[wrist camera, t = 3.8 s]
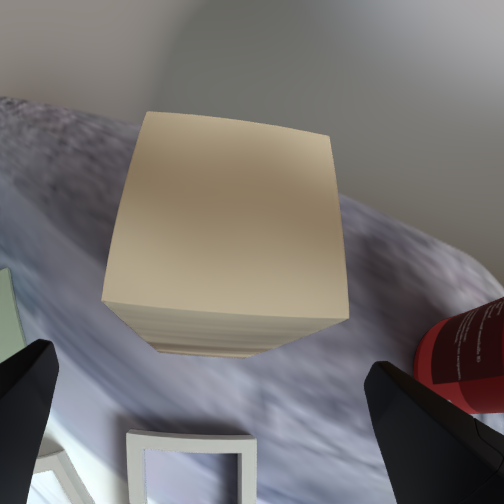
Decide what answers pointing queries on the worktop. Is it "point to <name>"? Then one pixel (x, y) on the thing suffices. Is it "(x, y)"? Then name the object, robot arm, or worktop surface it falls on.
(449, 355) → the canned food
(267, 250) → the block
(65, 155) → the worktop surface
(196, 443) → the frame
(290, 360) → the worktop surface
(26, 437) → the robot arm
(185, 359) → the worktop surface
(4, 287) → the pad
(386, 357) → the worktop surface
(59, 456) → the frame
